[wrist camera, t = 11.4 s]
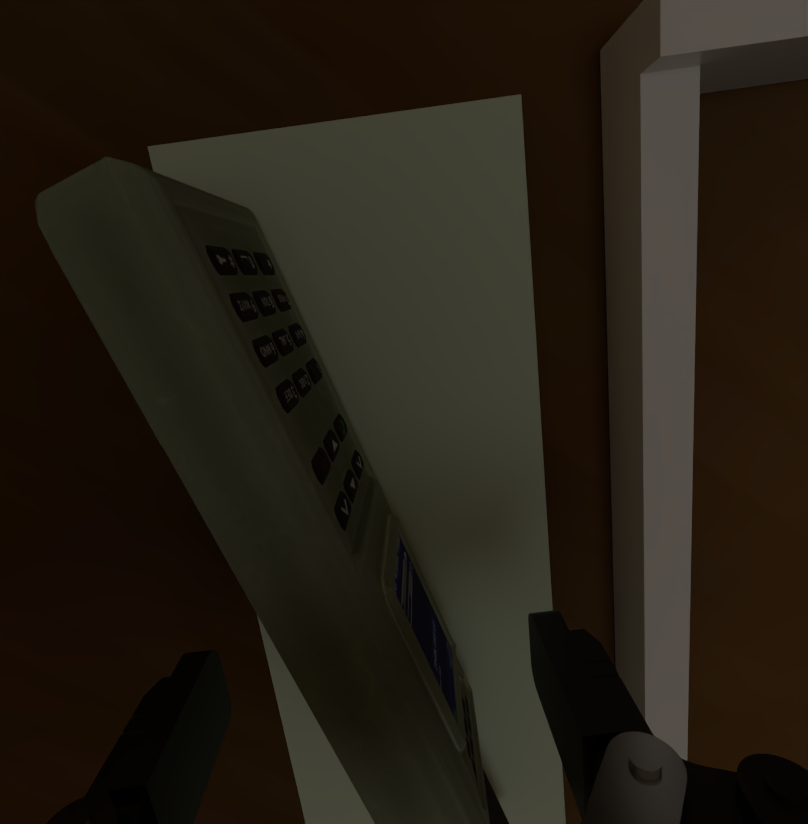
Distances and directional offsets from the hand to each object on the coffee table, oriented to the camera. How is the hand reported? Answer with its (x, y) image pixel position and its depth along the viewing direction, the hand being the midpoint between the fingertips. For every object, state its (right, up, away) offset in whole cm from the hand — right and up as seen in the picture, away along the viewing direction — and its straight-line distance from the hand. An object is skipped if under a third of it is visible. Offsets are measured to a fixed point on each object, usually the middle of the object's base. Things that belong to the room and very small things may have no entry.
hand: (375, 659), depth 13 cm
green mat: (0, +2, +6) cm, 6 cm away
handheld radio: (0, +1, +6) cm, 6 cm away
